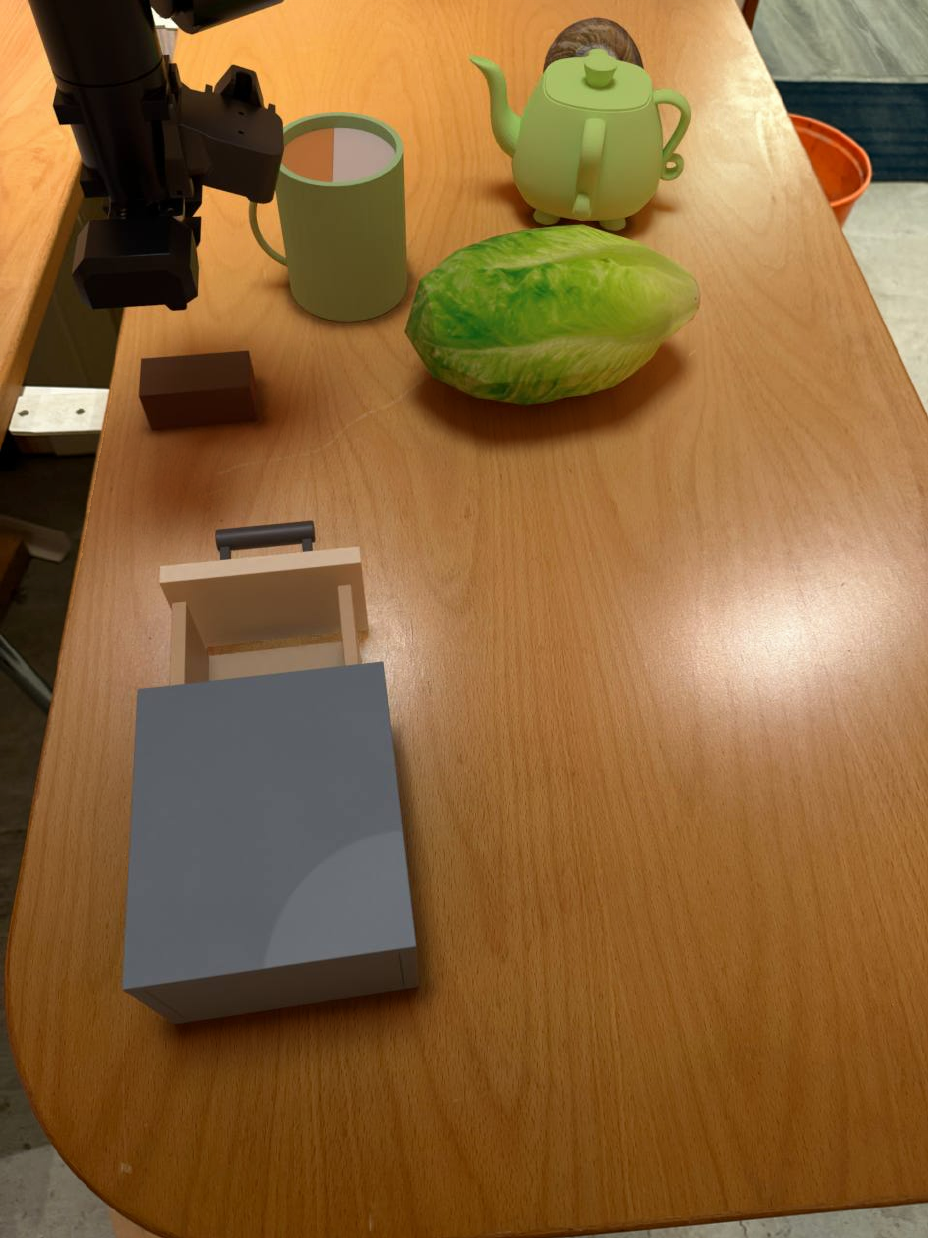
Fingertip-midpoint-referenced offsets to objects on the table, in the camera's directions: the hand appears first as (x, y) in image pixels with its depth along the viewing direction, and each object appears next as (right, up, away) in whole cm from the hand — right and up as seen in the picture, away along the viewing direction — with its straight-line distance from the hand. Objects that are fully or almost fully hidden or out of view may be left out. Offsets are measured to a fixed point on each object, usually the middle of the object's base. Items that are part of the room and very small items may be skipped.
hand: (179, 306), depth 60 cm
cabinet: (+9, -35, -10) cm, 37 cm away
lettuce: (+26, -2, +12) cm, 29 cm away
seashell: (+33, +33, +35) cm, 58 cm away
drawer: (+8, -25, -5) cm, 27 cm away
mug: (+8, +8, +18) cm, 21 cm away
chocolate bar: (-1, -5, +9) cm, 10 cm away
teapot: (+29, +19, +26) cm, 43 cm away
